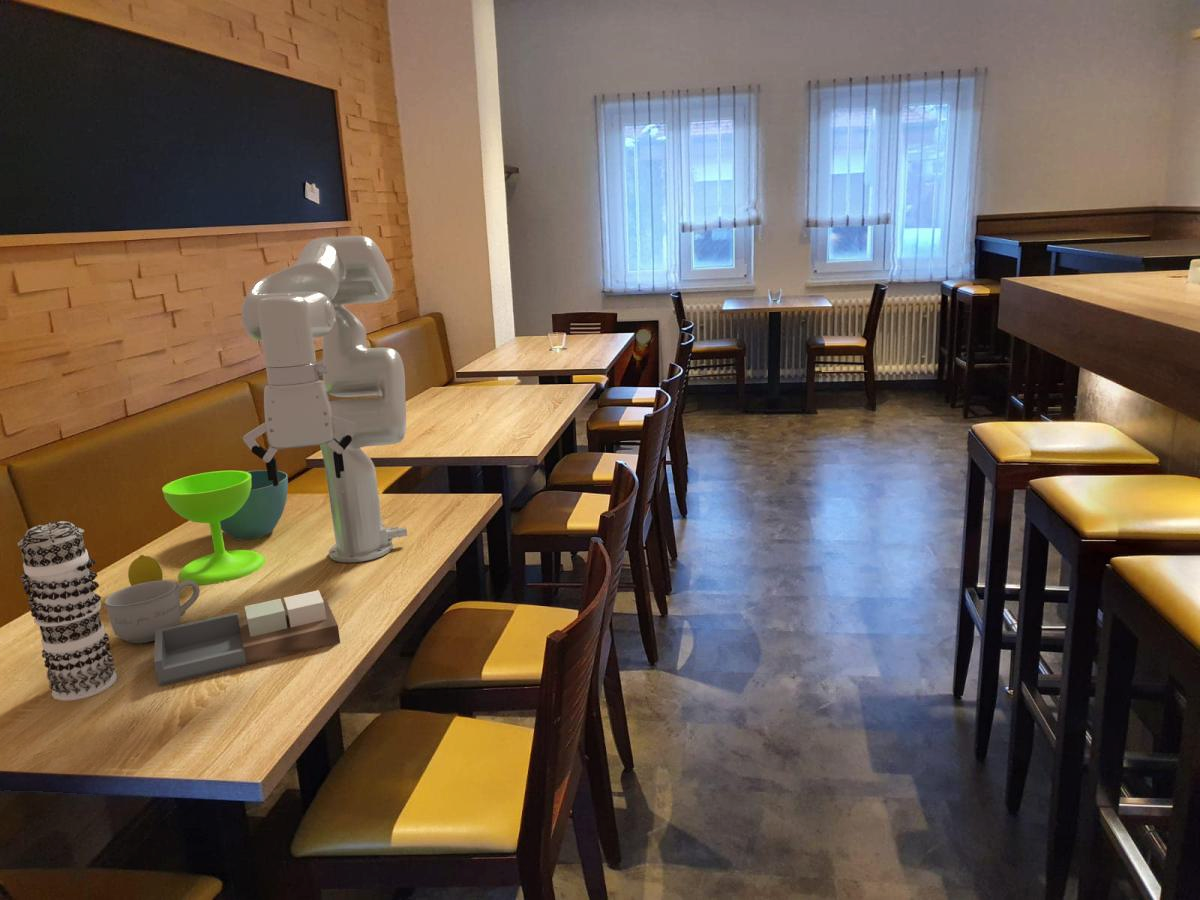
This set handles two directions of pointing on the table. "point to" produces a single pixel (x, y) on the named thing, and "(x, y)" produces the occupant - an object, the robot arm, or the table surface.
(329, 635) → the walnut wavy ramp
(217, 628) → the box
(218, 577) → the wineglass
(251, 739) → the table surface
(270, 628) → the sage tile
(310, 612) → the white tile
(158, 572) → the lemon
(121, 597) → the teacup
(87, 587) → the decorative candle
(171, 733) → the table surface
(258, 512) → the plant pot
